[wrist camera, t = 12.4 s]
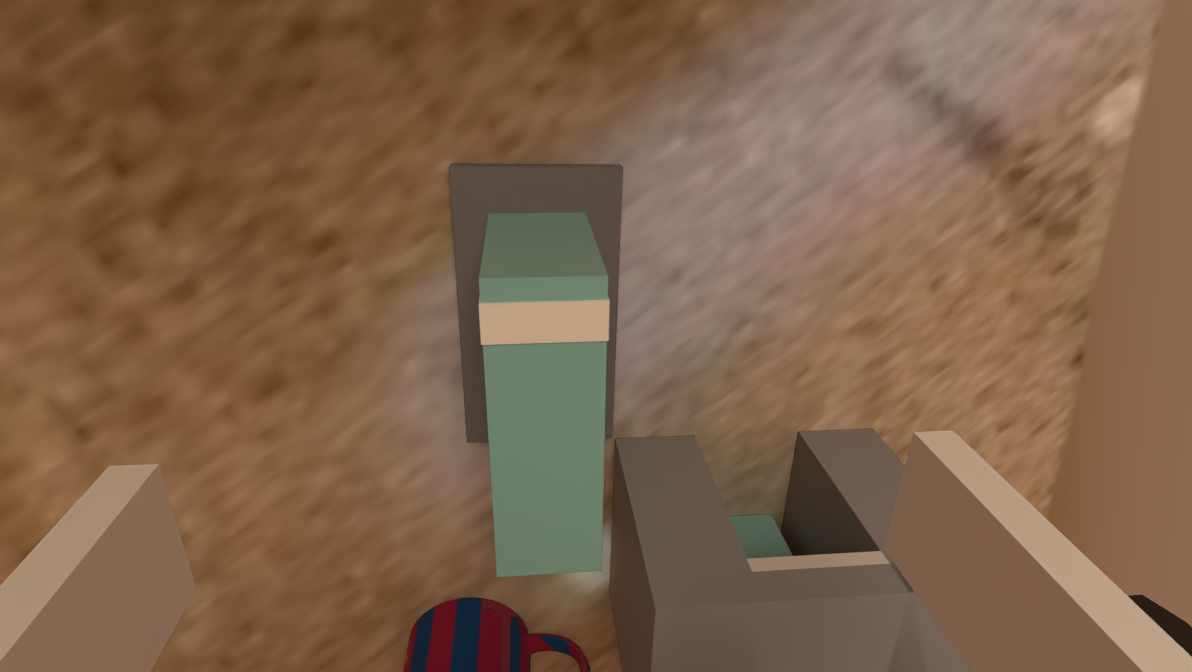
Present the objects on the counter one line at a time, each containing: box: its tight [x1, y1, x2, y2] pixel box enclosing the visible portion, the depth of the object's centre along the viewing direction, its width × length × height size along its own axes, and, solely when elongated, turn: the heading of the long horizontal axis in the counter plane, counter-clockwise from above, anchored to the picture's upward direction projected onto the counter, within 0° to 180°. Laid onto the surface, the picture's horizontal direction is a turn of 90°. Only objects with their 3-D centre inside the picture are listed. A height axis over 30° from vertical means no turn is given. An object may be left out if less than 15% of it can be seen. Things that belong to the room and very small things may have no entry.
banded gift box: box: [478, 212, 610, 577], centre depth 27 cm, size 12×4×8 cm, turn 179°
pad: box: [449, 164, 623, 442], centre depth 31 cm, size 13×7×1 cm, turn 179°
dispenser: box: [609, 429, 969, 672], centre depth 32 cm, size 10×14×11 cm
